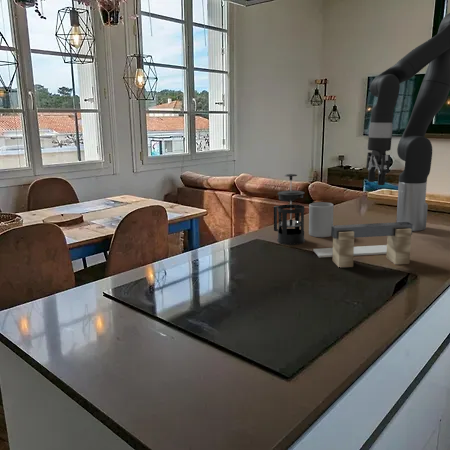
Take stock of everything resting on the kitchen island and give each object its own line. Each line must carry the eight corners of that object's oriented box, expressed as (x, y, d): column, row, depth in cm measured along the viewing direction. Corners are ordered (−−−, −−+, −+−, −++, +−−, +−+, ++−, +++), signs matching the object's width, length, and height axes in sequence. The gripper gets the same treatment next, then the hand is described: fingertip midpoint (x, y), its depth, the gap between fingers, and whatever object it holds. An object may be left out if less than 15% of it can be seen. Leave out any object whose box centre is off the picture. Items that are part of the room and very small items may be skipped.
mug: (333, 237, 148) (334, 206, 145) (308, 237, 149) (309, 206, 147) (331, 229, 159) (332, 200, 156) (308, 228, 161) (309, 200, 158)
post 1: (346, 259, 124) (347, 226, 122) (353, 266, 118) (354, 232, 116) (332, 260, 124) (333, 227, 121) (338, 267, 118) (339, 232, 116)
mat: (393, 246, 135) (394, 244, 135) (404, 252, 128) (404, 251, 128) (313, 250, 134) (313, 248, 134) (319, 257, 127) (319, 255, 127)
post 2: (399, 257, 125) (401, 224, 122) (409, 263, 119) (411, 229, 116) (386, 257, 124) (388, 224, 122) (395, 264, 119) (397, 229, 116)
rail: (406, 231, 121) (407, 221, 121) (412, 234, 118) (412, 224, 118) (331, 235, 120) (331, 225, 120) (334, 238, 118) (334, 228, 117)
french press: (311, 239, 146) (312, 173, 140) (298, 246, 139) (298, 176, 133) (282, 235, 153) (281, 171, 147) (267, 241, 146) (266, 175, 140)
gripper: (400, 137, 138) (395, 186, 142) (382, 135, 152) (378, 180, 156) (377, 137, 138) (373, 186, 142) (361, 135, 152) (358, 180, 156)
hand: (375, 183), depth 149 cm, fingers open, 8 cm apart
